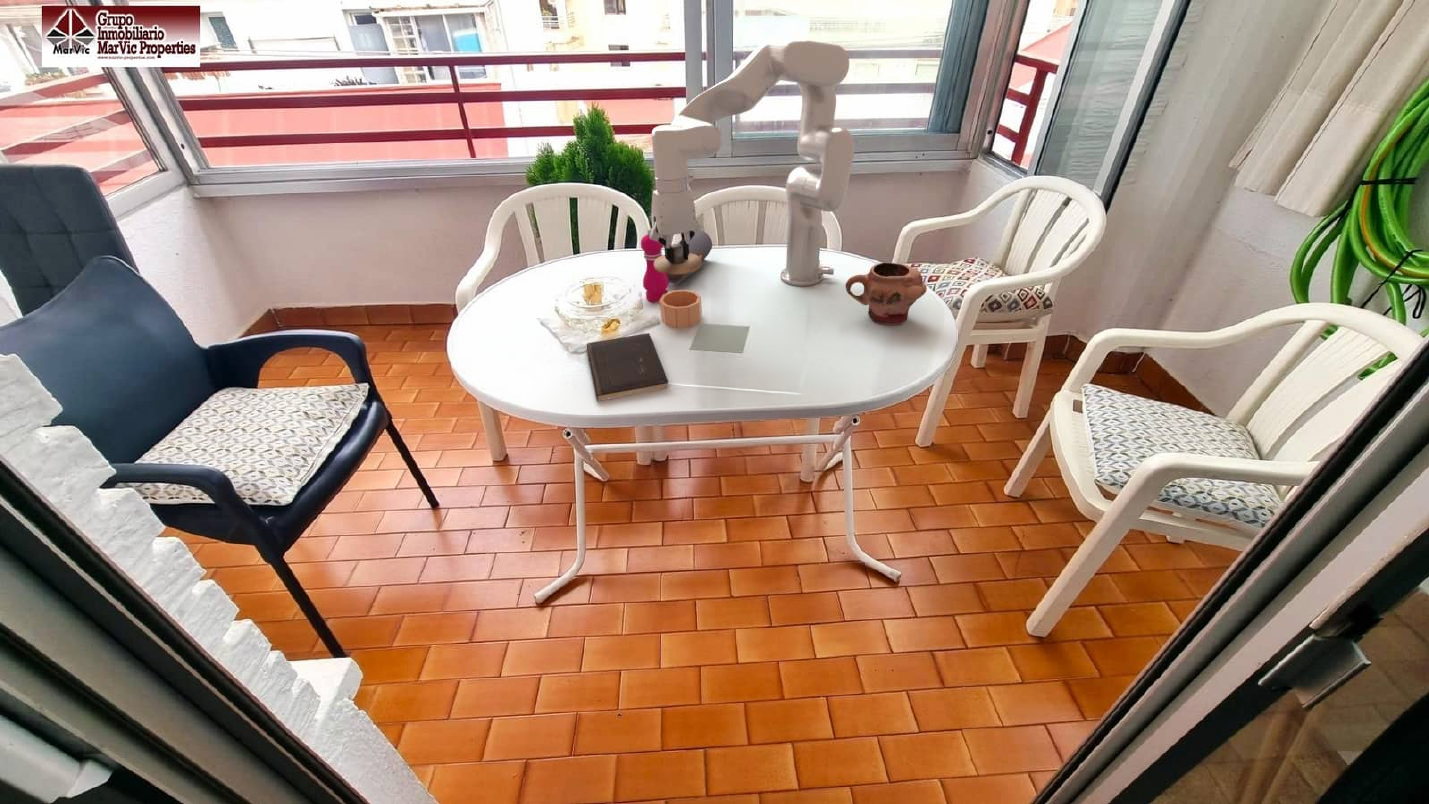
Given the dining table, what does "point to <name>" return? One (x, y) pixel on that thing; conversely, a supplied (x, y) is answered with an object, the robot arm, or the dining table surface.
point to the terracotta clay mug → (889, 291)
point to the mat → (720, 338)
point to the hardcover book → (625, 366)
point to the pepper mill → (653, 270)
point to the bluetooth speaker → (697, 246)
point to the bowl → (681, 308)
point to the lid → (678, 262)
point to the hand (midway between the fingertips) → (677, 259)
